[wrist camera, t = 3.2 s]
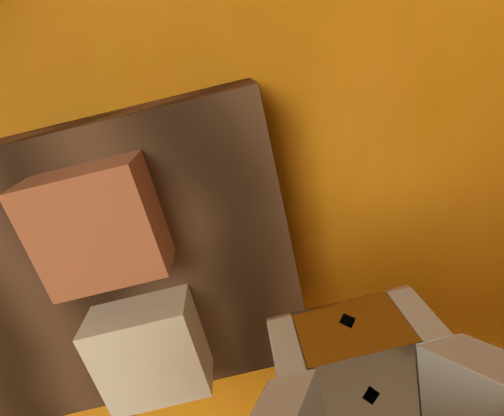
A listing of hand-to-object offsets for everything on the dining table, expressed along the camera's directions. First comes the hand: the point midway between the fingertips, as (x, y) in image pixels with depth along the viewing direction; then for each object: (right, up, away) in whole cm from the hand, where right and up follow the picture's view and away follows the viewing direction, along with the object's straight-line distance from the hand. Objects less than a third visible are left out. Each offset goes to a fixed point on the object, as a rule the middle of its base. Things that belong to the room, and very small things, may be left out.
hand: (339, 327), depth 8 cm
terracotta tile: (-9, +2, +9) cm, 13 cm away
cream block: (-7, -4, +12) cm, 14 cm away
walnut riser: (-10, +1, +15) cm, 18 cm away
